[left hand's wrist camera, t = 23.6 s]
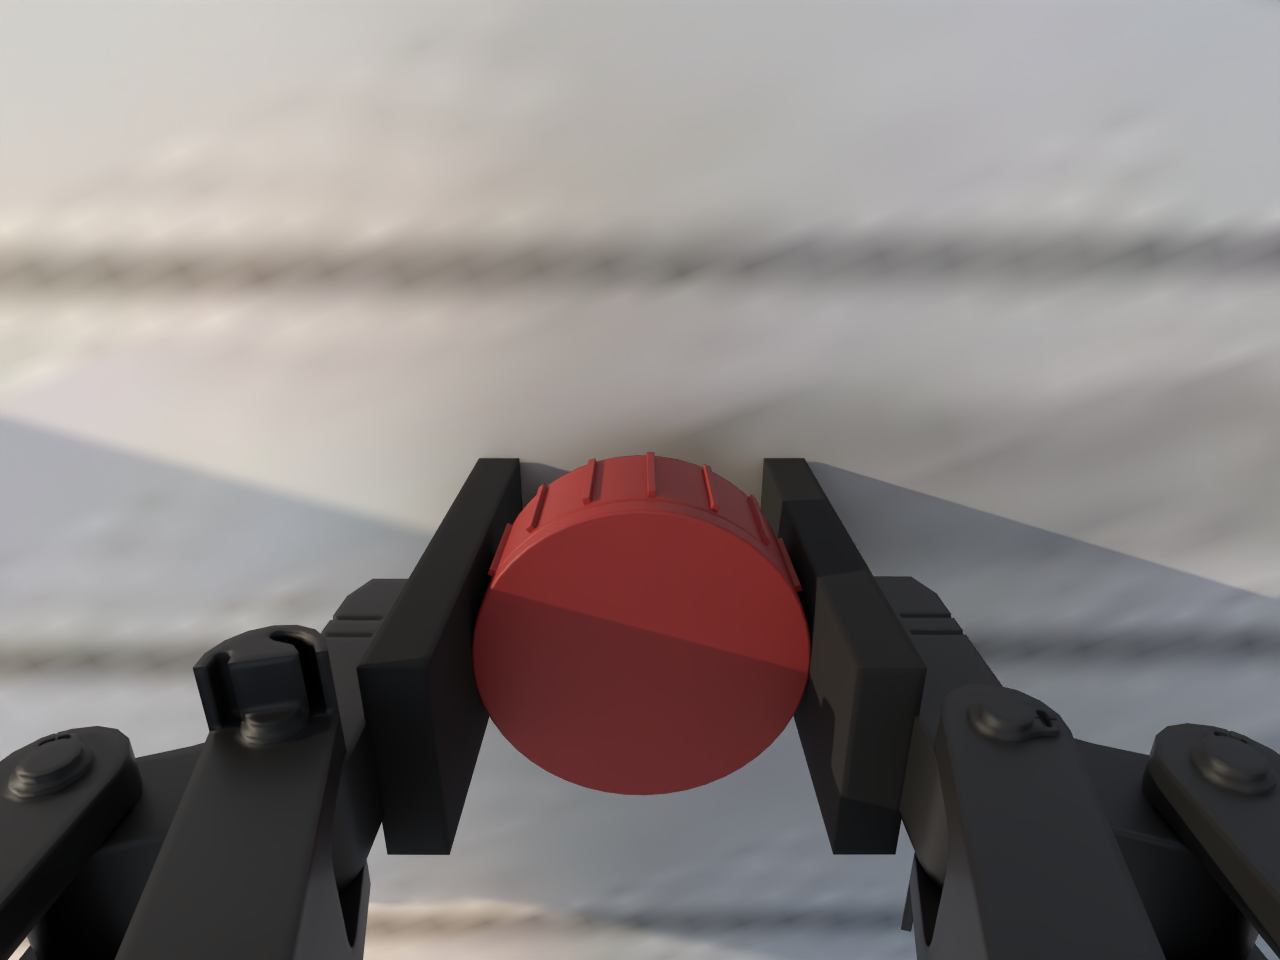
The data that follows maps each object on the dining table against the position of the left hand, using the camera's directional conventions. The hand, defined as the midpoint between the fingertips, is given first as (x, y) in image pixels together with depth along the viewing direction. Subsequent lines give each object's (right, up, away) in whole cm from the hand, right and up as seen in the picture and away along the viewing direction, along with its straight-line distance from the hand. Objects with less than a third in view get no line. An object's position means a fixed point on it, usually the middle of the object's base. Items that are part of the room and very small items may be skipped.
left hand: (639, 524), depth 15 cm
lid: (0, -2, -4) cm, 4 cm away
